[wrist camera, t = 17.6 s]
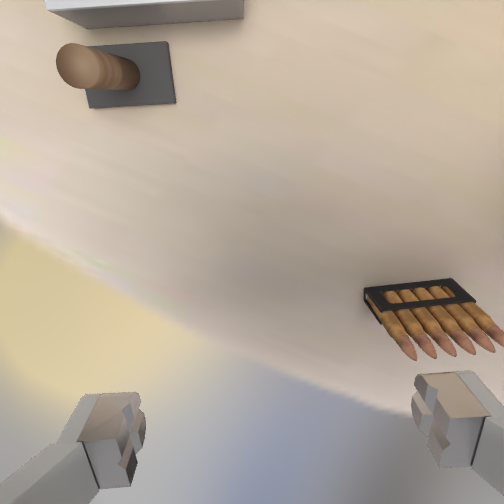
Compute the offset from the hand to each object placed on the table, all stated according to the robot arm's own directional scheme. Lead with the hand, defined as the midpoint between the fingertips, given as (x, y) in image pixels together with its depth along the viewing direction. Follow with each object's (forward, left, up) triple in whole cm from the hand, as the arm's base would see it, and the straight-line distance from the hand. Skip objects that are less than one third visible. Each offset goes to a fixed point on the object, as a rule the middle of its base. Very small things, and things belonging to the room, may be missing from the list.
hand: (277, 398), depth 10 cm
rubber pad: (+11, -11, -29) cm, 33 cm away
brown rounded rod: (+11, -11, -28) cm, 32 cm away
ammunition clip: (-18, +14, -29) cm, 37 cm away
